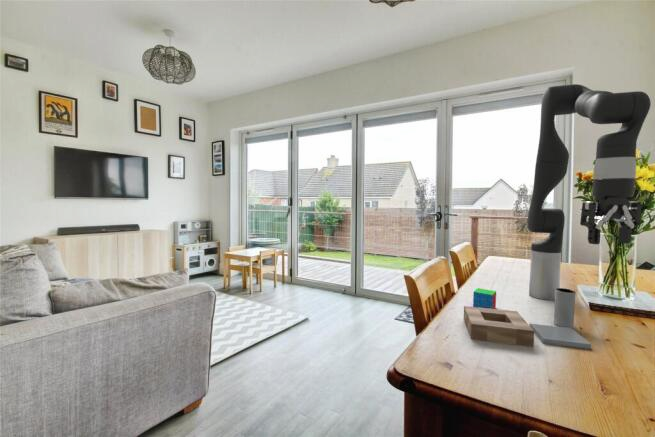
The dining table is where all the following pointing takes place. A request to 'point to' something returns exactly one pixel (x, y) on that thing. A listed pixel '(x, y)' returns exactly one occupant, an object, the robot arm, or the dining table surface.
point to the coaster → (560, 336)
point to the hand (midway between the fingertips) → (608, 243)
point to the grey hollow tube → (564, 307)
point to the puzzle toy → (484, 298)
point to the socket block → (498, 326)
